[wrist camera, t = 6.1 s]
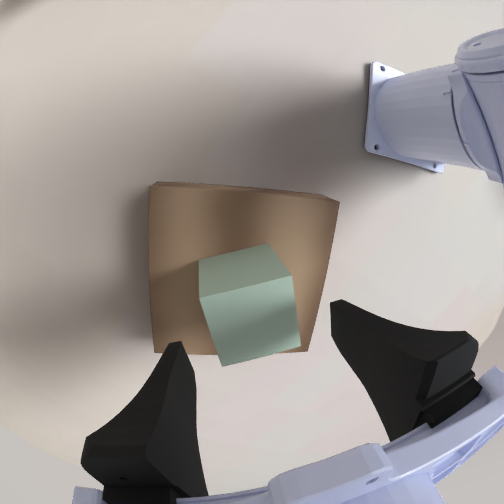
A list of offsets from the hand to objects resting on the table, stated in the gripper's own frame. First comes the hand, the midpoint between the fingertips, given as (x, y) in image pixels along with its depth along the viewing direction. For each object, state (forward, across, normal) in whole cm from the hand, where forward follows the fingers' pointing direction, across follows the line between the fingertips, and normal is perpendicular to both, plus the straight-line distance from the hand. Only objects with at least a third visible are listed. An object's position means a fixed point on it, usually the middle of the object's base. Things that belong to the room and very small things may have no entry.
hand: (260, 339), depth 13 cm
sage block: (+6, 0, 0) cm, 6 cm away
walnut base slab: (+9, 0, 0) cm, 9 cm away
